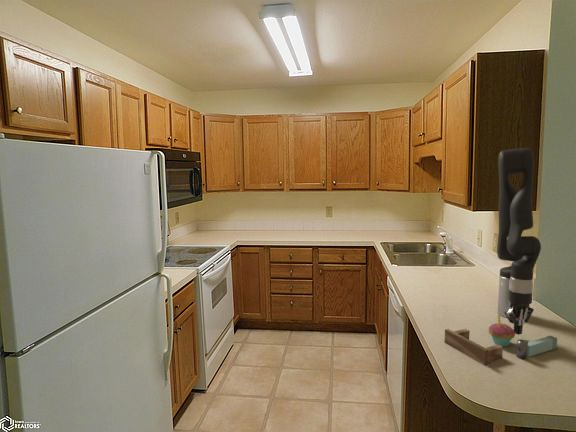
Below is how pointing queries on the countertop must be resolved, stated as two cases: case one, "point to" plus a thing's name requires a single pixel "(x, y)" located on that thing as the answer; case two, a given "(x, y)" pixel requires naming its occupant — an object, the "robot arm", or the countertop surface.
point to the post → (522, 349)
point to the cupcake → (501, 333)
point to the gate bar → (541, 345)
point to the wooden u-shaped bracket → (472, 346)
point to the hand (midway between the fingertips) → (517, 333)
